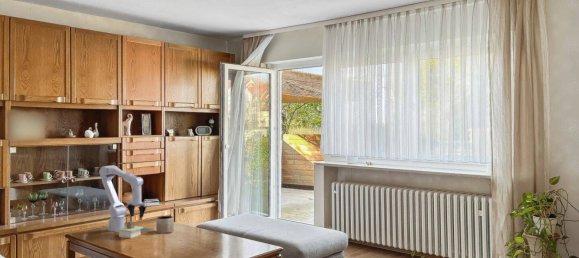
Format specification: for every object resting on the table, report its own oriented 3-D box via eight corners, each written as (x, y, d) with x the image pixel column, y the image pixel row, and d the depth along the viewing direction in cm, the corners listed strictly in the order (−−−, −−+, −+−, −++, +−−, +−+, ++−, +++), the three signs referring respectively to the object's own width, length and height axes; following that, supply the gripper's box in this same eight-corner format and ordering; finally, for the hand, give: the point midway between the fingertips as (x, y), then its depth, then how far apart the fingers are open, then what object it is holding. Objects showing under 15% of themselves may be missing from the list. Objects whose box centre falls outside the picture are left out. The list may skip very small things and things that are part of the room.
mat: (127, 232, 292) (127, 231, 292) (139, 228, 303) (139, 227, 303) (142, 233, 288) (142, 233, 288) (154, 229, 299) (154, 228, 299)
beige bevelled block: (119, 237, 278) (119, 230, 278) (129, 234, 286) (129, 227, 286) (130, 239, 274) (130, 231, 274) (140, 235, 283) (140, 228, 283)
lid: (117, 230, 278) (117, 222, 277) (129, 226, 288) (129, 219, 288) (131, 232, 274) (131, 224, 274) (143, 228, 284) (143, 220, 284)
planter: (170, 234, 287) (170, 219, 287) (154, 234, 287) (153, 219, 287) (175, 230, 298) (175, 215, 298) (159, 230, 298) (159, 215, 298)
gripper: (149, 195, 292) (150, 216, 292) (132, 194, 297) (132, 214, 297) (142, 197, 285) (142, 218, 285) (124, 196, 291) (124, 216, 291)
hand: (136, 216), depth 291 cm, fingers open, 7 cm apart
